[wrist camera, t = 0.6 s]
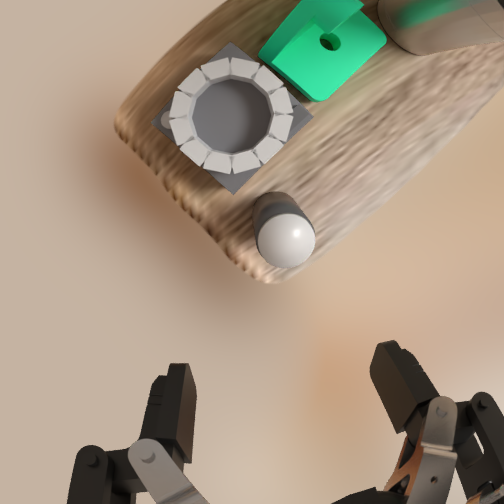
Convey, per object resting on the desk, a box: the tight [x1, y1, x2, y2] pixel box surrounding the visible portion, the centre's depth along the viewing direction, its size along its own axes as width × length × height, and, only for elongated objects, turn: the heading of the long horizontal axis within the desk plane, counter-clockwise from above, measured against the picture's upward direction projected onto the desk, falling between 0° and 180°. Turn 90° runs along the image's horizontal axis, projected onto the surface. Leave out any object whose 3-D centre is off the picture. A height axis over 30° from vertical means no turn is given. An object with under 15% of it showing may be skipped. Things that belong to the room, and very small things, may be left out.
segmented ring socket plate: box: [151, 42, 313, 195], centre depth 22 cm, size 10×10×6 cm
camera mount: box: [258, 0, 387, 102], centre depth 17 cm, size 12×8×10 cm, turn 139°
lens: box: [252, 192, 315, 268], centre depth 26 cm, size 5×5×8 cm
